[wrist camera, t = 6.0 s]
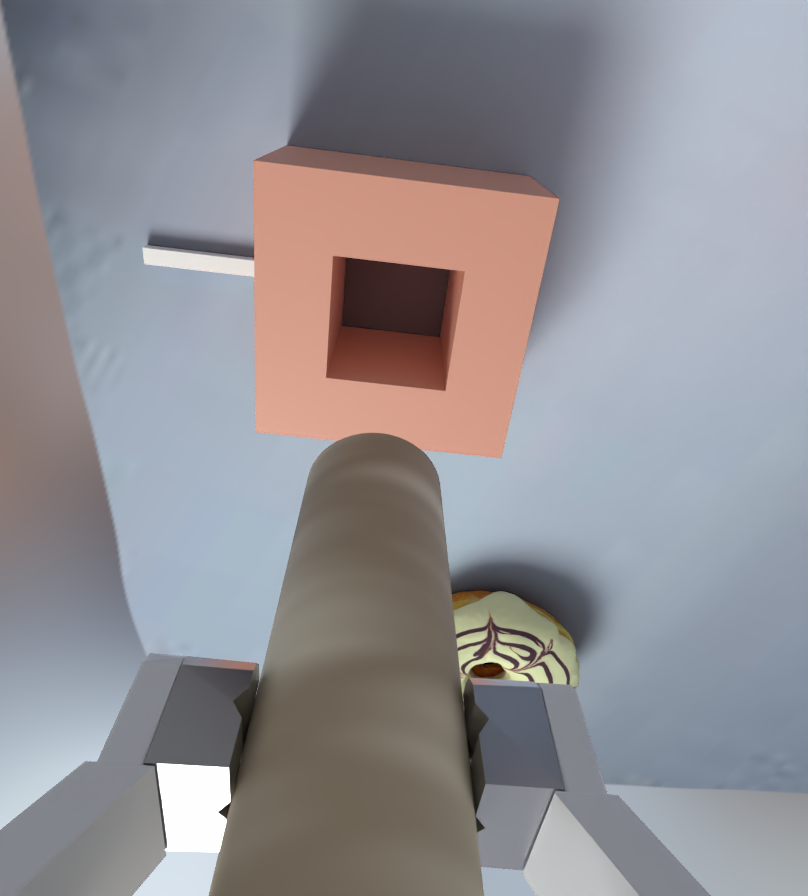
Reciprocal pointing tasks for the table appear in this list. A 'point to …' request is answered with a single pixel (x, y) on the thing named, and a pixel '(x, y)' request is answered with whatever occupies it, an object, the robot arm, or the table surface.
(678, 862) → the robot arm
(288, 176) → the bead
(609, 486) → the table surface
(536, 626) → the decorated donut
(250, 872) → the rounded cream peg
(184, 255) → the white bar
